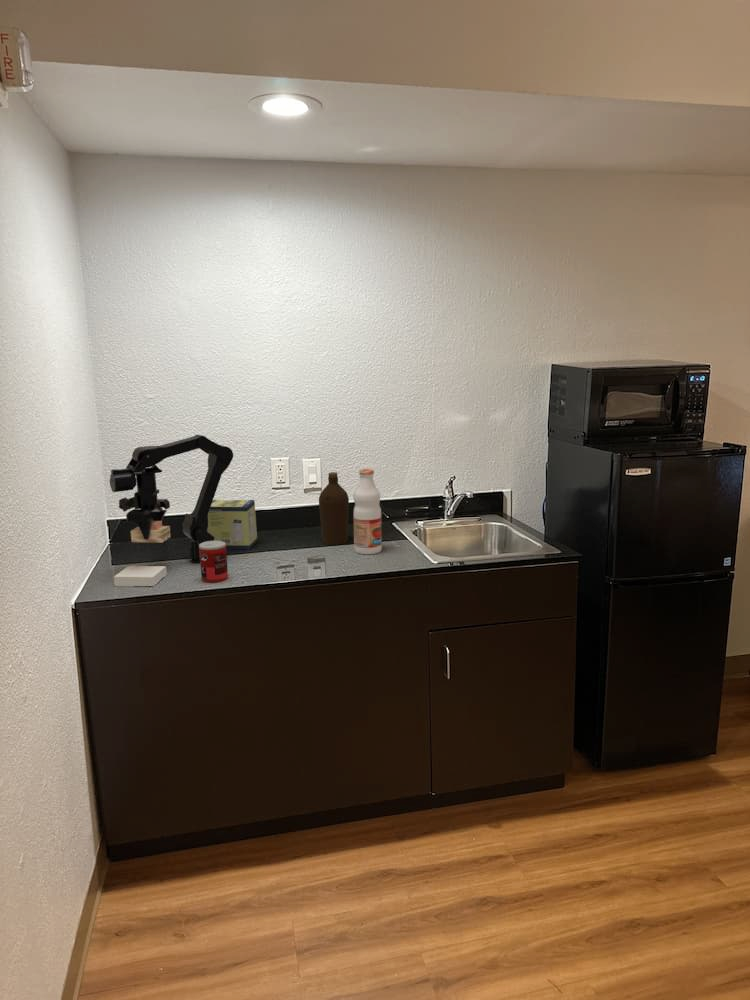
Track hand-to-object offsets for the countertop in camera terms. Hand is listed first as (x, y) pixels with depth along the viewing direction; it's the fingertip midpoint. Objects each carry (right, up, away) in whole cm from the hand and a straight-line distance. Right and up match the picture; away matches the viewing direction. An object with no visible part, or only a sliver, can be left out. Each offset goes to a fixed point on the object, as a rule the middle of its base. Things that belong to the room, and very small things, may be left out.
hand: (151, 536), depth 215 cm
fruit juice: (+68, -6, +18) cm, 71 cm away
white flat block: (-1, -13, -7) cm, 15 cm away
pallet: (0, -1, 0) cm, 1 cm away
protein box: (+20, -5, +28) cm, 35 cm away
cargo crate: (0, +3, -1) cm, 3 cm away
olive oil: (+56, -4, +30) cm, 64 cm away
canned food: (+22, -13, -7) cm, 26 cm away
